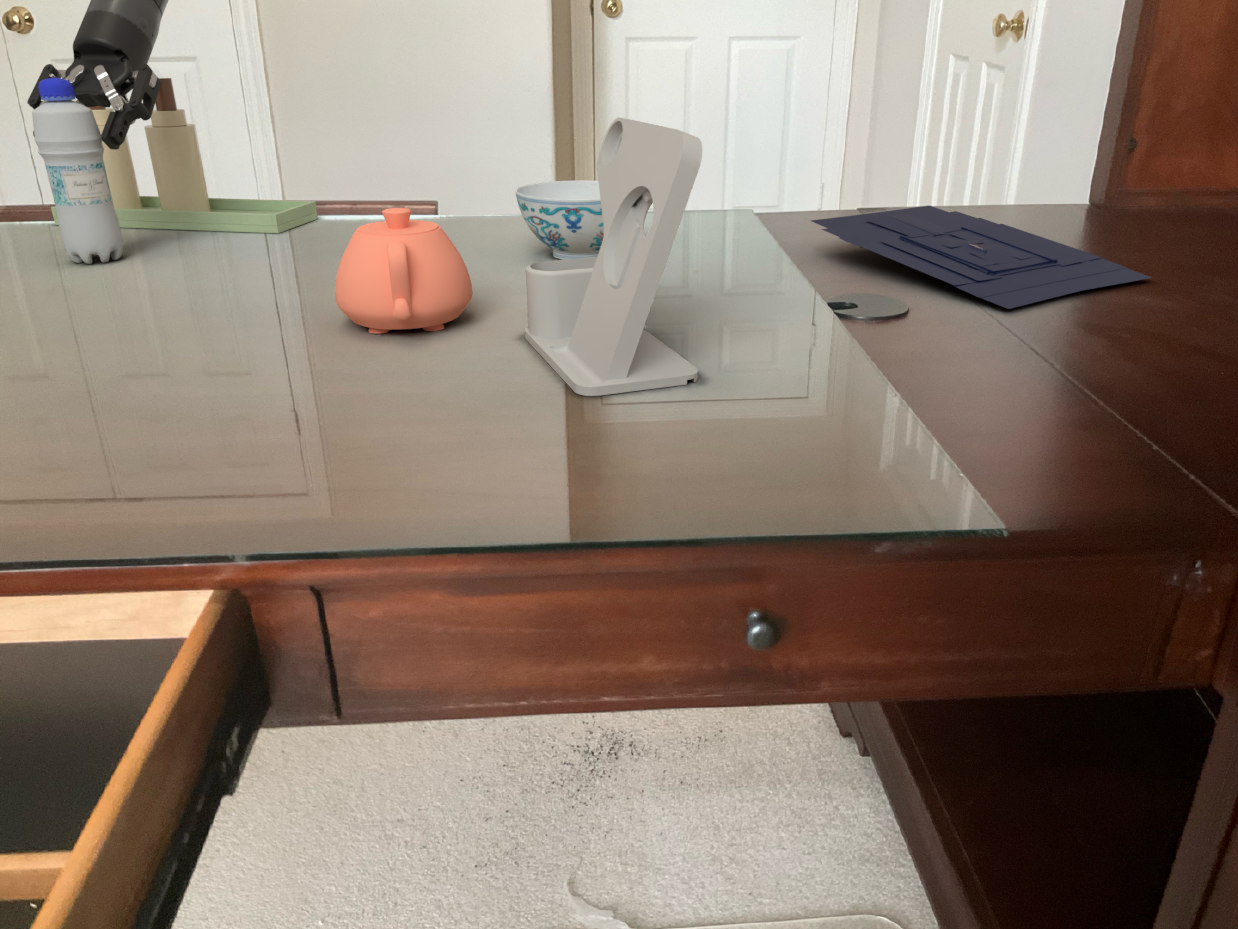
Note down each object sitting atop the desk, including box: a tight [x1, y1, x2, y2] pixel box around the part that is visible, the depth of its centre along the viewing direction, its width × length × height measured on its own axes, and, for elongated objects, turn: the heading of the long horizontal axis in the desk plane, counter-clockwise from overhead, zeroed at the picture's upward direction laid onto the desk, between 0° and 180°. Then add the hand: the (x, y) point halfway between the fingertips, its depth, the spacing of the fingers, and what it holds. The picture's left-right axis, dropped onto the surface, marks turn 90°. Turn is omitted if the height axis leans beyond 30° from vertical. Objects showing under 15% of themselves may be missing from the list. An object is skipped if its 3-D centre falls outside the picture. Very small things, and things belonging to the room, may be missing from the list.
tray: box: [50, 195, 319, 234], centre depth 132 cm, size 34×11×2 cm, turn 79°
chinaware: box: [514, 179, 604, 260], centre depth 110 cm, size 15×15×8 cm
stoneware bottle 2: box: [144, 77, 211, 212], centre depth 128 cm, size 6×6×18 cm
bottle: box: [31, 78, 124, 265], centre depth 106 cm, size 7×7×20 cm
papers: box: [810, 204, 1154, 310], centre depth 105 cm, size 24×30×4 cm
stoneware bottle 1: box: [88, 106, 143, 209], centre depth 130 cm, size 6×6×18 cm
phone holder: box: [524, 116, 703, 397], centre depth 73 cm, size 17×10×18 cm, turn 20°
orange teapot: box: [334, 207, 473, 335], centre depth 83 cm, size 12×14×10 cm
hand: (75, 144), depth 105 cm, fingers open, 8 cm apart
